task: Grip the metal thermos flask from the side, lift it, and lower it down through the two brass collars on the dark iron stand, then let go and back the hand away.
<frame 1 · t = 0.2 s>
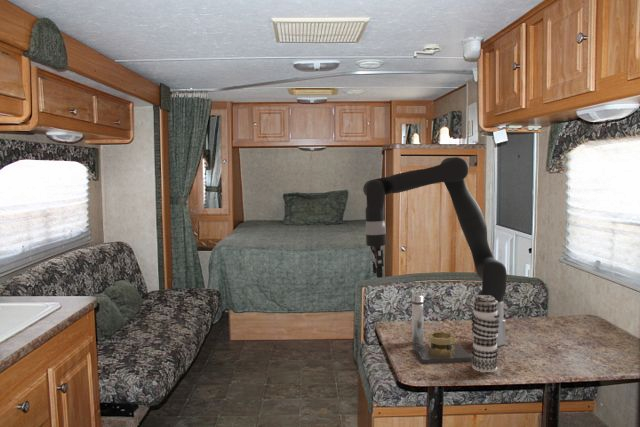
hand: (377, 275, 192), 29 cm above the table, tool pointing down, fingers open, 8 cm apart
metal thermos flask: (417, 342, 200), on the table
decorative candle: (484, 368, 174), on the table
collar stand: (441, 355, 186), on the table
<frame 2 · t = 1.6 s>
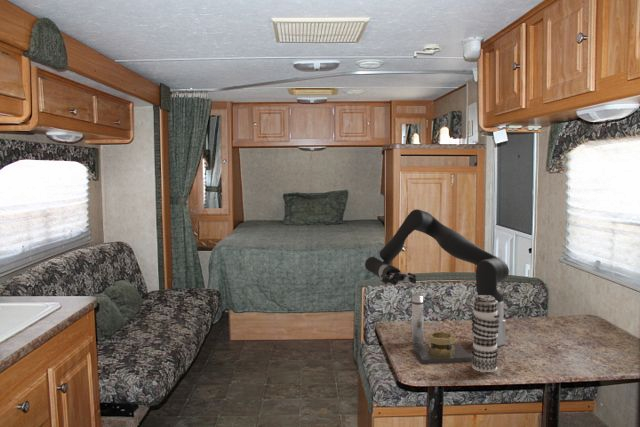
hand: (405, 282, 208), 22 cm above the table, tool horizontal, fingers open, 8 cm apart
nothing on the table moved.
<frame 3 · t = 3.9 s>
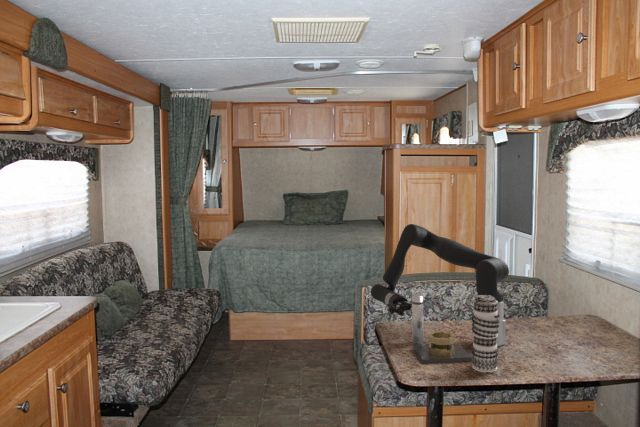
hand: (412, 312, 203), 11 cm above the table, tool horizontal, fingers open, 8 cm apart
nothing on the table moved.
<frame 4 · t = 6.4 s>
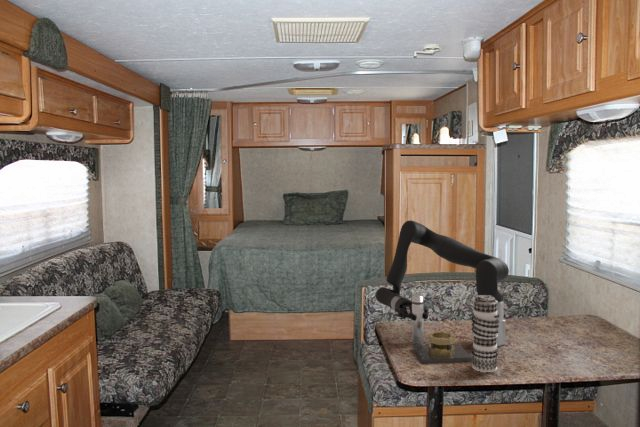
hand: (420, 317, 196), 11 cm above the table, tool horizontal, fingers closed on metal thermos flask, 4 cm apart
metal thermos flask: (417, 342, 200), on the table, touching gripper
everything else where it was.
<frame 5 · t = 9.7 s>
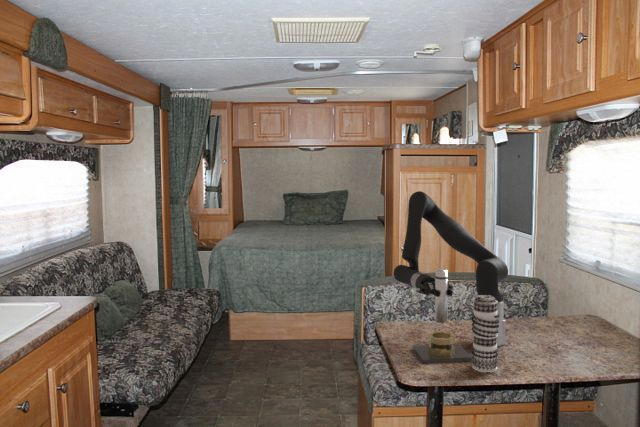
hand: (445, 293, 181), 24 cm above the table, tool horizontal, fingers closed on metal thermos flask, 4 cm apart
metal thermos flask: (441, 321, 185), point 13 cm above the table, touching gripper
everything else where it was.
when the fingers open (14 cm above the table, at t = 13.2 s): metal thermos flask drops 1 cm, resting on collar stand.
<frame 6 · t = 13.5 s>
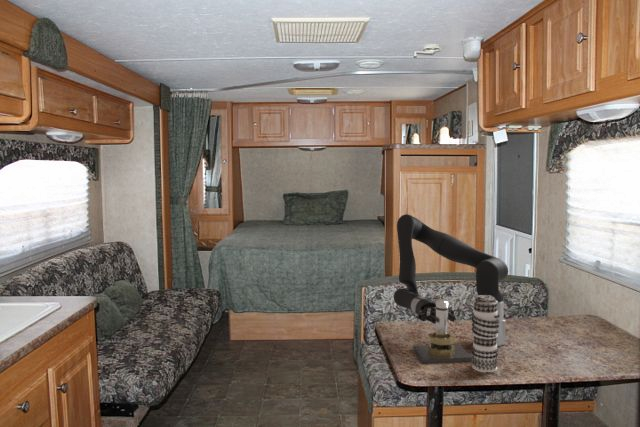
hand: (444, 319, 183), 14 cm above the table, tool horizontal, fingers open, 7 cm apart
metal thermos flask: (441, 351, 186), point 2 cm above the table, touching collar stand
everything else where it was.
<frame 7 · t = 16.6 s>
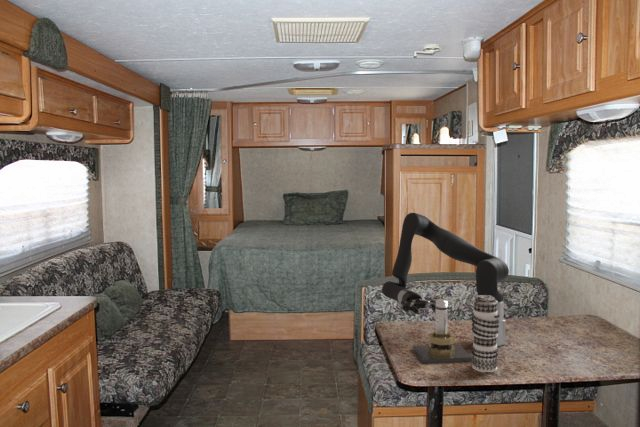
hand: (427, 310, 195), 14 cm above the table, tool horizontal, fingers open, 8 cm apart
nothing on the table moved.
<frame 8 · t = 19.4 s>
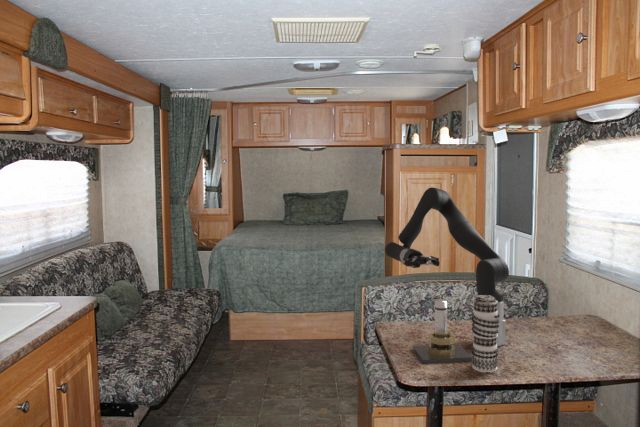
hand: (428, 264, 203), 30 cm above the table, tool horizontal, fingers open, 8 cm apart
nothing on the table moved.
at the end: metal thermos flask 0.1 cm off-centre on the collar stand, point 1.5 cm above the collar stand's base; metal thermos flask tilted 1°; the gripper is holding nothing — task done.
